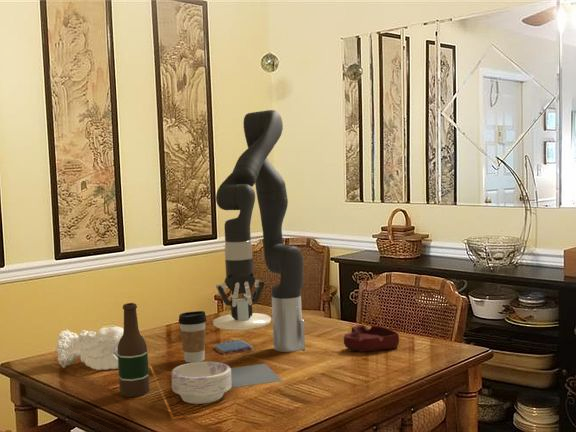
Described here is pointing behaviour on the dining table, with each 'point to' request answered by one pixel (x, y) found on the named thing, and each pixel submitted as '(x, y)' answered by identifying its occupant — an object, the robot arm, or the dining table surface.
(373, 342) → the ashtray
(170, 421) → the dining table surface
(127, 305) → the beer bottle
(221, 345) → the woven mat
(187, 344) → the coffee cup
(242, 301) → the lid
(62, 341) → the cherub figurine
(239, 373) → the mat
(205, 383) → the paper bowls
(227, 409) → the dining table surface
